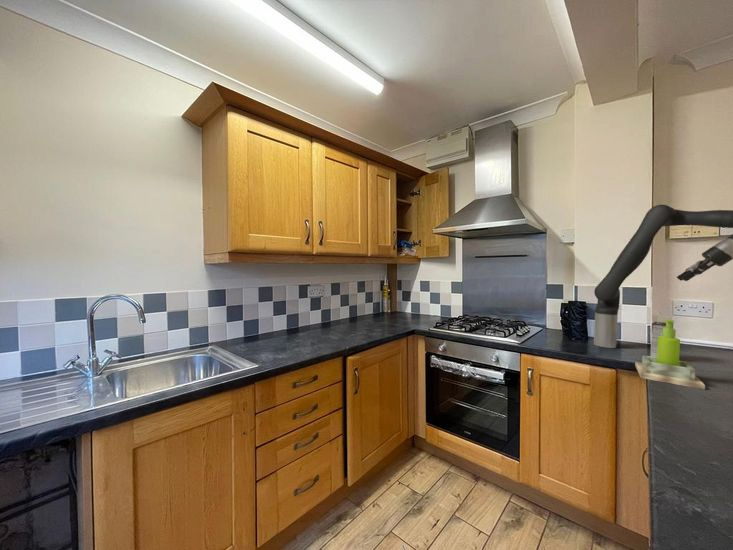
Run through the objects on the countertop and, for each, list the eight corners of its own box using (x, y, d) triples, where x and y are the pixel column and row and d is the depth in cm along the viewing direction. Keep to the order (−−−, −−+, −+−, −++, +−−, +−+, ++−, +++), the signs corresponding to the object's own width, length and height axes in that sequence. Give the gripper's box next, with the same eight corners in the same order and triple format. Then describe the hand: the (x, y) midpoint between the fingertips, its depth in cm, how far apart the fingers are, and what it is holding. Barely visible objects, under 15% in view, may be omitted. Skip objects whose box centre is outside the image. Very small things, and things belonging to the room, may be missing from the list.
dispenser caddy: (640, 377, 110) (641, 363, 109) (635, 365, 124) (635, 352, 124) (704, 389, 100) (705, 373, 100) (690, 374, 114) (691, 360, 114)
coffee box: (652, 354, 142) (654, 321, 141) (672, 357, 137) (673, 323, 136) (649, 357, 136) (651, 323, 135) (669, 361, 131) (671, 325, 130)
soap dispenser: (674, 370, 114) (676, 319, 113) (681, 376, 108) (683, 322, 107) (653, 368, 117) (655, 317, 116) (659, 373, 111) (661, 320, 110)
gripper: (708, 246, 126) (668, 272, 133) (719, 244, 114) (676, 273, 122) (726, 259, 123) (685, 285, 130) (740, 258, 111) (694, 286, 119)
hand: (680, 279), depth 126 cm, fingers open, 8 cm apart
